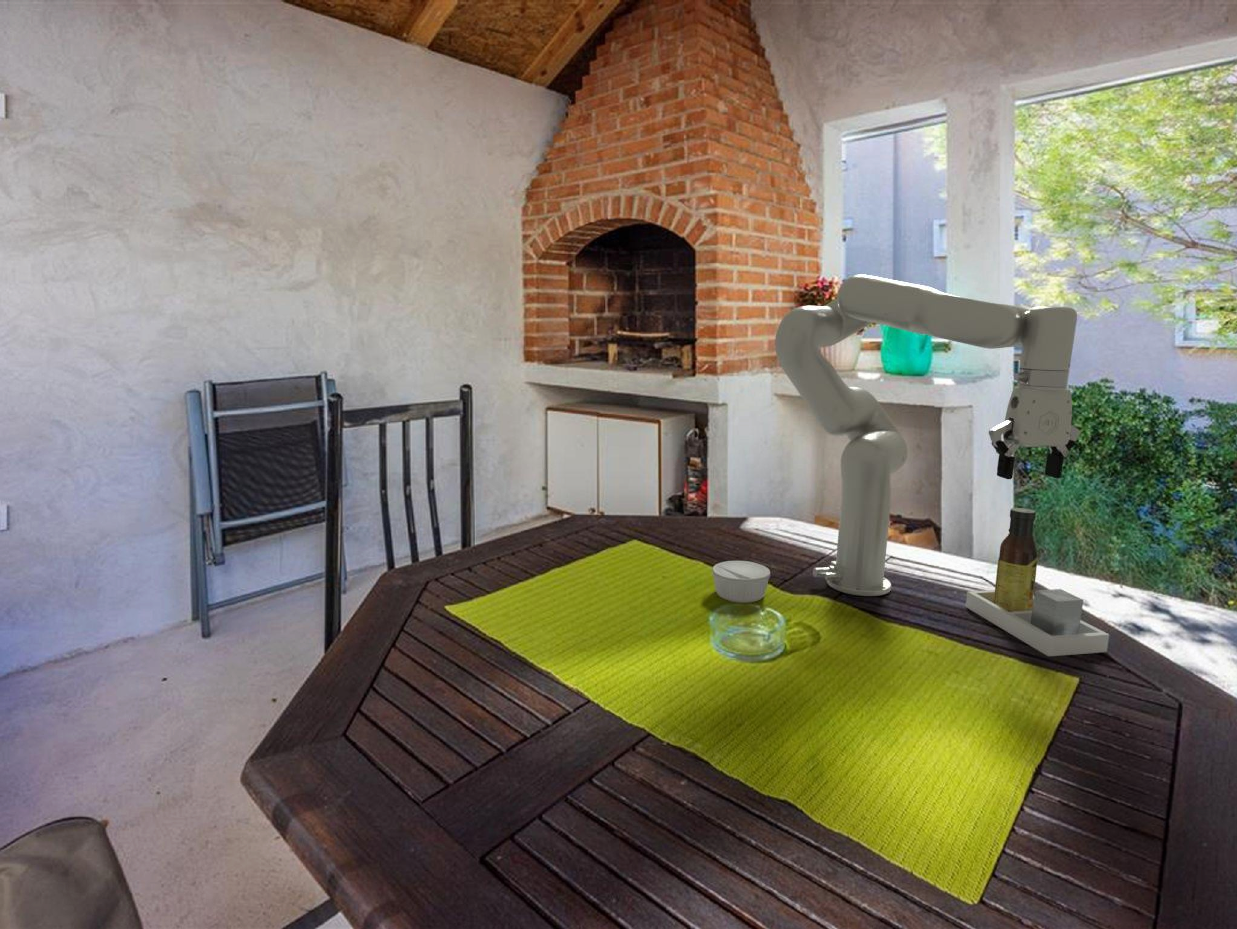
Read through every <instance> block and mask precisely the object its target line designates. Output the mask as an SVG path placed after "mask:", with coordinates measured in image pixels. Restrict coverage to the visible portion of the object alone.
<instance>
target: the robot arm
mask: <svg viewBox="0 0 1237 929" xmlns="http://www.w3.org/2000/svg"><path fill="white" fill-rule="evenodd" d="M1077 322H1078V313H1077V311H1076V309H1074V308H1073V307H1070V306H1047V305H1046V306H1035V307H1034V306H1033V307H1031V308H1030V307H1022V306H1015V305H1010V304H1004V303H994V302H990V301H984V300H979V299H974V298H968V297H963V296H958V295H954V294H949V293H945V292H942V291H940V290H938V289H935V288H933V287H931V286H927V285H921V284H916V283H910V282H905V281H901V280H894V279H889V278H884V277H879V276H876V275H870V274H869V275H867V274H855V275H852V276H850V277H847V279H845V280H844V281H842V283H841V284H840V286H839V288H838V290H837V294H836V298H835V299H833V300H832V301H829V302H828V303H827V304H825V305H823V306H821V305H802V306H797V307H796V308H793V309H791V310H790V311H789V312H787V313H786V314H785V315H784V317H783V318H782V319H781V320H780V323H779V325H778V327H777V329H776V333H775V339H774V341H775V342H774V347H775V348H774V349H775V354H776V358H777V360H778V363H779V365H780V367H781V369H782V370H783V372H784V374H786V376H787V378H788V379H789V380H790V382H791V383H792V385H793V386H794V387H795V389H796V391H797V392H798V394H799V396H800V397H801V399H802V400H803V401H804V404H806V406H807V408H808V409H809V410H810V412H811V413H812V415H813V416H814V418H815V419H816V421H817V423H818V424H819V425H820V427H821V428H822V429H823V430H824V431H825V432H826V433H827V434H829V435H830V436H831V435H832V436H834V437H836V436H837V437H839V436H847V438H848V439H849V440H850V441H849V442H848V443H847V444H846V445H845V447H844V449H843V451H842V454H841V458H840V479H841V492H840V496H841V497H840V508H839V510H840V511H839V520H838V522H839V523H838V535H837V536H838V537H837V546H836V547H837V548H836V560H832V561H831V562H830V565H827V566H826V567H822V566H821V567H813V569H812V575H813V577H814V578H820V577H821V578H822V577H824V579H825V580H826V583H827V585H828V586H829V587H831V588H832V589H834V590H835V591H839V592H841V593H845V594H848V595H853V596H860V597H879V596H883V595H887V594H888V593H890V592H891V590H892V583H891V581H890V580H888V579H887V578H886V577H884V576H885V569H886V568H885V566H886V558H887V557H886V556H887V548H888V539H889V537H888V536H889V528H890V526H889V525H890V516H891V514H890V513H891V505H892V490H891V475H892V474H893V473H896V472H897V471H899V470H900V469H901V468H903V466H904V465H905V464H906V462H907V458H908V454H909V453H908V452H909V451H908V445H907V443H906V440H905V437H904V436H903V434H902V433H901V432H900V430H899V429H898V427H897V426H896V424H895V423H894V421H893V420H892V419H891V417H890V416H889V414H887V412H886V411H885V409H884V407H883V406H882V405H881V404H880V402H879V401H878V400H877V399H876V397H875V396H874V395H873V394H872V393H870V392H869V391H868V390H866V389H864V388H863V387H858V386H848V384H846V383H845V382H844V380H843V378H842V377H841V376H840V375H839V373H838V372H837V371H836V369H835V367H834V366H833V364H832V363H831V362H830V361H829V360H828V359H827V358H826V357H825V356H824V355H823V354H822V353H821V351H820V349H819V348H828V347H831V346H834V345H837V344H838V343H841V342H842V341H844V340H846V339H848V338H849V337H851V336H853V335H855V334H856V333H858V332H860V331H861V330H863V329H865V328H867V327H868V326H871V325H872V324H878V325H882V326H885V327H890V328H895V329H898V330H902V331H906V332H907V331H908V332H912V333H915V334H918V335H928V336H931V337H936V338H939V339H944V340H948V341H952V342H956V343H960V344H964V345H969V346H972V347H978V348H983V349H988V350H989V349H990V350H991V349H1003V348H1004V349H1005V348H1013V347H1014V348H1015V347H1021V354H1020V359H1019V360H1020V361H1019V368H1018V372H1015V373H1014V374H1013V380H1014V381H1017V383H1016V386H1014V387H1013V389H1012V392H1011V394H1010V397H1009V402H1008V404H1007V409H1006V413H1005V418H1004V422H1001V423H1000V424H997V425H996V426H994V427H992V428H991V429H989V430H988V435H989V438H990V441H991V446H992V447H993V448H994V450H995V453H996V454H998V461H997V467H996V471H997V472H996V476H997V477H999V478H1003V479H1006V480H1013V479H1012V478H1013V477H1014V468H1015V463H1016V462H1015V461H1016V458H1015V456H1013V454H1014V453H1015V452H1016V451H1018V450H1019V448H1020V447H1025V448H1044V447H1045V448H1048V449H1049V451H1050V452H1047V456H1046V461H1045V462H1046V463H1045V469H1044V475H1045V476H1047V477H1051V478H1055V479H1061V478H1062V475H1063V474H1062V473H1063V467H1064V460H1065V457H1067V456H1068V455H1069V451H1070V450H1071V449H1072V448H1073V447H1074V446H1075V444H1076V443H1075V442H1076V441H1077V439H1078V438H1079V437H1080V434H1081V430H1080V429H1078V428H1077V427H1076V426H1074V425H1072V417H1073V414H1072V413H1073V400H1072V392H1071V389H1070V388H1068V383H1069V382H1068V380H1069V376H1070V375H1069V374H1070V369H1071V362H1072V354H1073V348H1074V342H1075V333H1076V330H1077V329H1076V327H1077ZM1002 439H1003V440H1002Z"/></svg>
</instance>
